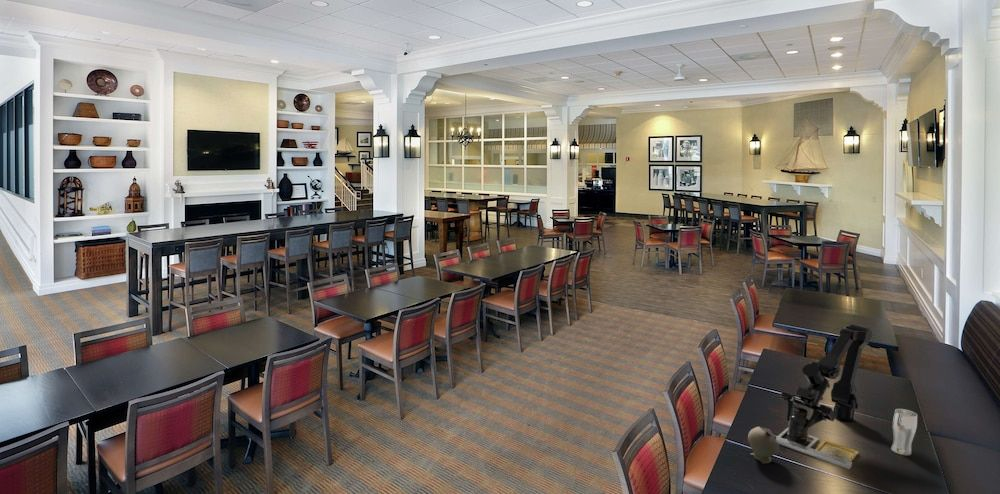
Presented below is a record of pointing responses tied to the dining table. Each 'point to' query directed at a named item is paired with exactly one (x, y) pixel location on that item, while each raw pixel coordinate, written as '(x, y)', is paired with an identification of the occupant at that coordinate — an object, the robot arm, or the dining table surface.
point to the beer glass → (903, 431)
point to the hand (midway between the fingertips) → (796, 424)
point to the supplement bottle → (798, 425)
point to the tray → (822, 450)
